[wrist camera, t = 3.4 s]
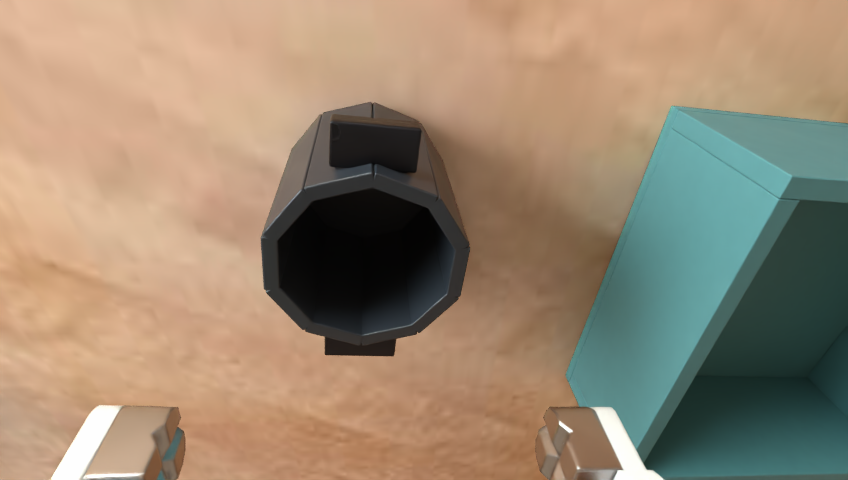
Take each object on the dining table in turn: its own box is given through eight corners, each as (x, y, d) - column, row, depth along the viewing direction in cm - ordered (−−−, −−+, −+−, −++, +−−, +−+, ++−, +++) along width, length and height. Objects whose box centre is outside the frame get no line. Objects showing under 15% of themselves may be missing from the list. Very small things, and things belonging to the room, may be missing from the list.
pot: (289, 61, 18) (252, 122, 13) (454, 78, 19) (492, 142, 14) (294, 257, 23) (268, 368, 17) (426, 263, 24) (445, 370, 18)
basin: (671, 105, 21) (791, 175, 15) (987, 137, 23) (1201, 209, 17) (565, 375, 30) (614, 487, 24) (803, 378, 32) (903, 481, 26)
